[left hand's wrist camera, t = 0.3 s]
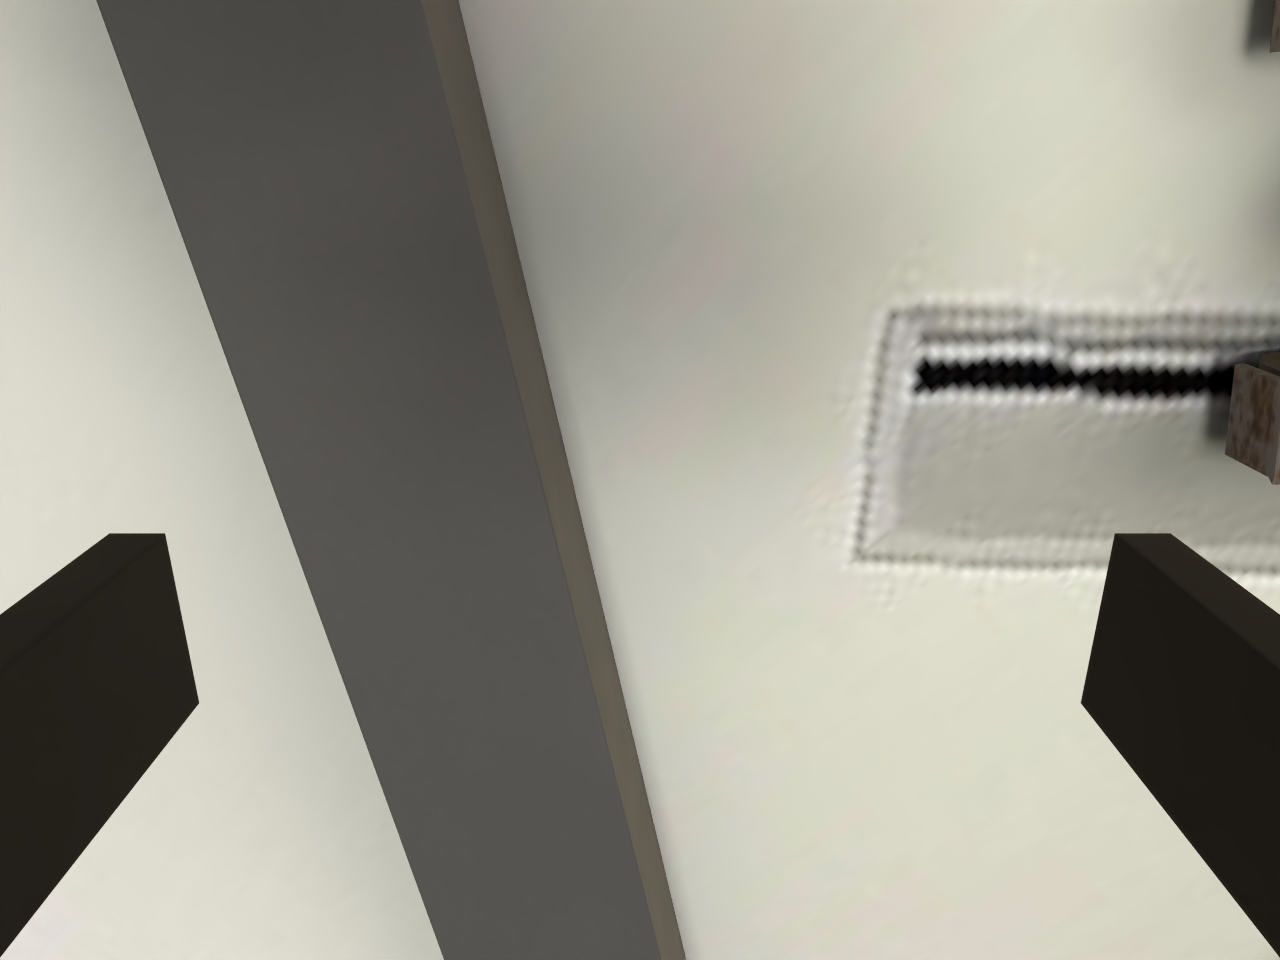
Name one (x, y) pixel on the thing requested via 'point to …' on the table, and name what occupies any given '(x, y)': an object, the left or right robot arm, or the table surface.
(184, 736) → the table surface
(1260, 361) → the toy
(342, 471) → the thick board
